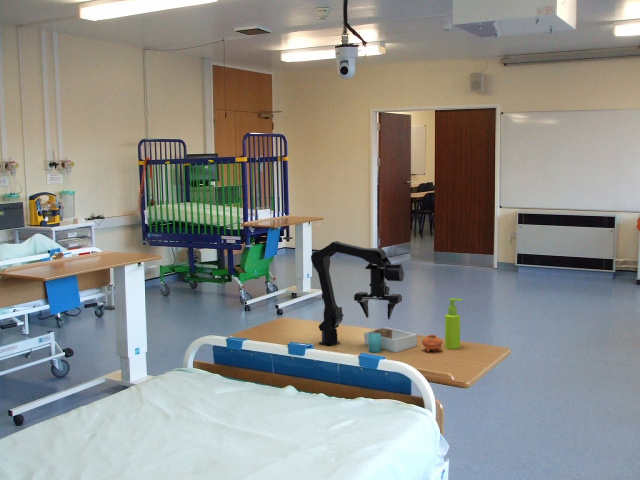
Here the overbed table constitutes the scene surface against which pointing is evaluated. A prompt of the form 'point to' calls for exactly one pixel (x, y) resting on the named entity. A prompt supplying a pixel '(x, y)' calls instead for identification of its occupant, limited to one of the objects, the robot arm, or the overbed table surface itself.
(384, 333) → the walnut cube
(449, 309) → the soap dispenser
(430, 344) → the pot
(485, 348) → the overbed table surface
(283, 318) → the overbed table surface
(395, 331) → the tote
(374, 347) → the teal cylinder
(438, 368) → the overbed table surface
